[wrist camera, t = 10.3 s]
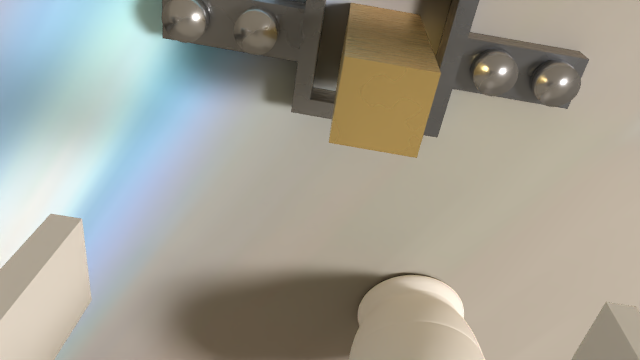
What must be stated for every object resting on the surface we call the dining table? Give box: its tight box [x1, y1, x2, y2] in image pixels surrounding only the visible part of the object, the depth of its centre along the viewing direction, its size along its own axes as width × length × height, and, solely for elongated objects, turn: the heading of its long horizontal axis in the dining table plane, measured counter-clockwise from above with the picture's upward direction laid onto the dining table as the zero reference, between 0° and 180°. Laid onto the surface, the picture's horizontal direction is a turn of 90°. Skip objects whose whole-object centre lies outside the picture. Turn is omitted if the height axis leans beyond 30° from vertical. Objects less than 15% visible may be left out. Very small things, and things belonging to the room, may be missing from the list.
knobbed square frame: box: [162, 0, 589, 137], centre depth 29 cm, size 24×9×2 cm, turn 81°
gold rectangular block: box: [329, 3, 441, 158], centre depth 26 cm, size 4×4×10 cm
